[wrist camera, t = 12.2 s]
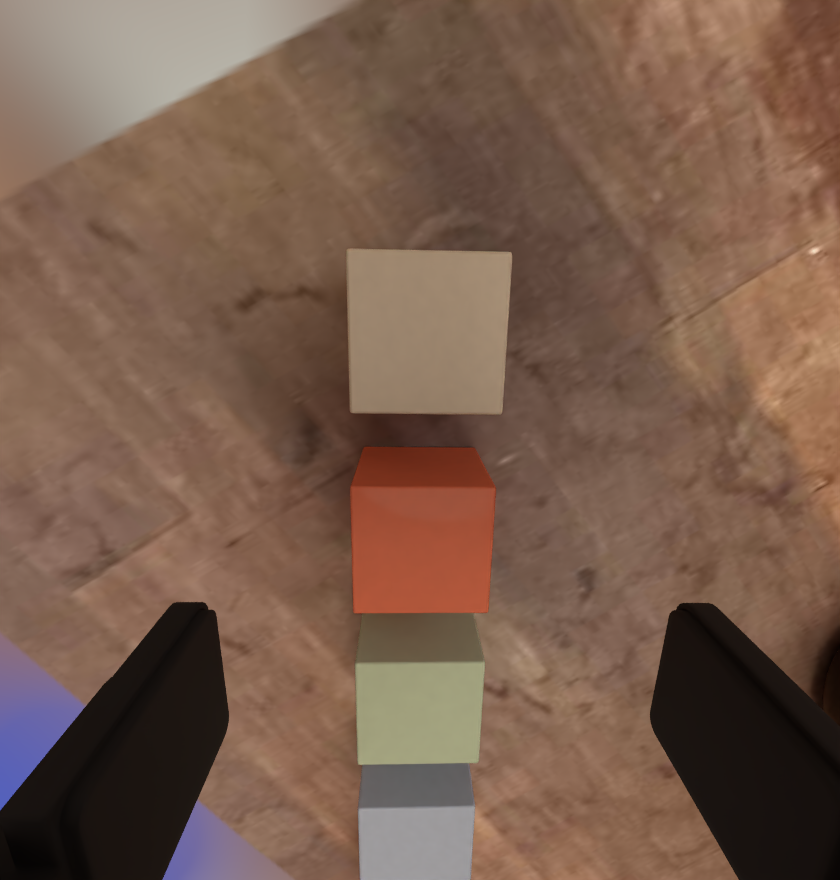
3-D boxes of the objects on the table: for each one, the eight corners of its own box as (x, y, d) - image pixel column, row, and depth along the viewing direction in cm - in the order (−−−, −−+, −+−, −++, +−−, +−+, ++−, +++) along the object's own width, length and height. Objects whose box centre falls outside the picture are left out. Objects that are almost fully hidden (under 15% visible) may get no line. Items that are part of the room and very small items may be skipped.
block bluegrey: (367, 709, 22) (357, 809, 17) (461, 708, 22) (475, 807, 18) (368, 782, 23) (359, 892, 19) (458, 781, 23) (470, 890, 19)
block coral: (363, 446, 18) (349, 486, 14) (474, 447, 19) (496, 487, 14) (364, 547, 20) (353, 614, 15) (470, 547, 20) (488, 613, 15)
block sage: (365, 587, 20) (354, 663, 16) (468, 587, 20) (485, 662, 16) (367, 672, 21) (357, 766, 17) (464, 672, 22) (479, 764, 17)
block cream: (361, 266, 17) (345, 247, 12) (485, 269, 17) (513, 251, 12) (363, 390, 18) (349, 413, 13) (478, 391, 18) (502, 415, 14)
